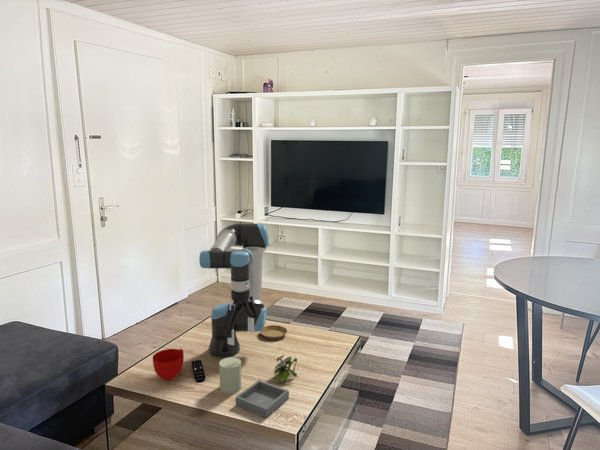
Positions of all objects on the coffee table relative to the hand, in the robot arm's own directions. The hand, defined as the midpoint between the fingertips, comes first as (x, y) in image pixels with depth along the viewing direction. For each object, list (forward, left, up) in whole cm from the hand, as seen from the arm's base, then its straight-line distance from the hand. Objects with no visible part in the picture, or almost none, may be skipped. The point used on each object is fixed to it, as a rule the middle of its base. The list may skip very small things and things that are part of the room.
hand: (241, 338), depth 180 cm
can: (-3, -4, -22) cm, 22 cm away
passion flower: (+12, +16, -22) cm, 30 cm away
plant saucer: (-18, +48, -22) cm, 56 cm away
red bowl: (-32, -10, -22) cm, 40 cm away
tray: (+15, -5, -21) cm, 26 cm away
